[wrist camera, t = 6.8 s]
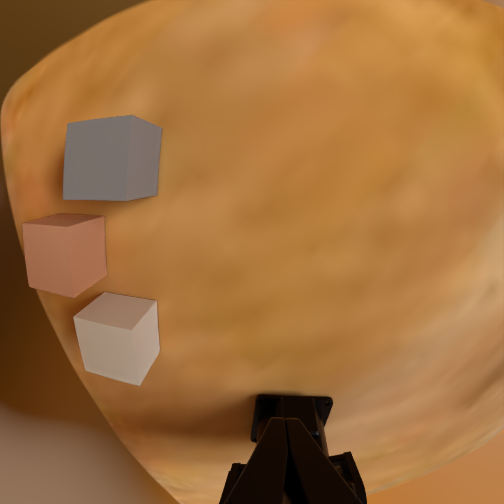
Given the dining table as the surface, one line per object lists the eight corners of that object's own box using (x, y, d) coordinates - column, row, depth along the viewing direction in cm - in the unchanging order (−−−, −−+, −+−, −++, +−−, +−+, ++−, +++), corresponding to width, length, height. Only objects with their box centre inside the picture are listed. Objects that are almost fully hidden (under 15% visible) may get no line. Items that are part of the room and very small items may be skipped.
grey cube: (157, 195, 18) (126, 201, 14) (101, 193, 18) (62, 199, 14) (162, 127, 17) (132, 115, 12) (105, 131, 17) (67, 123, 13)
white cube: (159, 351, 21) (139, 386, 17) (111, 340, 21) (85, 370, 17) (156, 300, 20) (131, 330, 15) (104, 291, 20) (73, 316, 16)
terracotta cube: (106, 275, 20) (73, 298, 15) (63, 268, 20) (29, 286, 15) (104, 216, 18) (67, 226, 14) (60, 213, 19) (22, 223, 14)
